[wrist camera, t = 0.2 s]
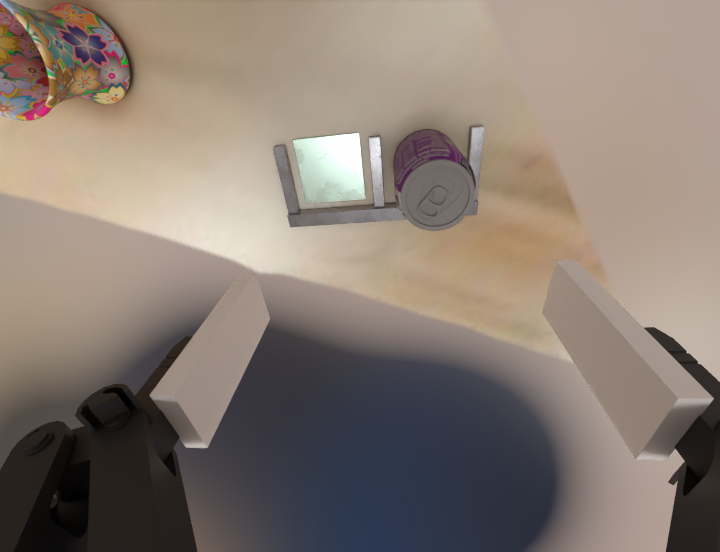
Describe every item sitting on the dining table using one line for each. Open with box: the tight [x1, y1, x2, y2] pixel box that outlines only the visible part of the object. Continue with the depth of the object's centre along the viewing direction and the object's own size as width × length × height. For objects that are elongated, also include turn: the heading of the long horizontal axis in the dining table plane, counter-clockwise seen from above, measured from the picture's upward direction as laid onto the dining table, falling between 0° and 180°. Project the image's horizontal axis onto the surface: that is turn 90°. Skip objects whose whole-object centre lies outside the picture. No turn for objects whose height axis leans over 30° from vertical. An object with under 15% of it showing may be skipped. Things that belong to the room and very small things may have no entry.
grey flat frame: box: [273, 125, 484, 227], centre depth 37 cm, size 10×23×2 cm, turn 96°
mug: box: [0, 0, 130, 121], centre depth 30 cm, size 12×9×11 cm
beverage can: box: [393, 130, 476, 231], centre depth 32 cm, size 7×7×12 cm
